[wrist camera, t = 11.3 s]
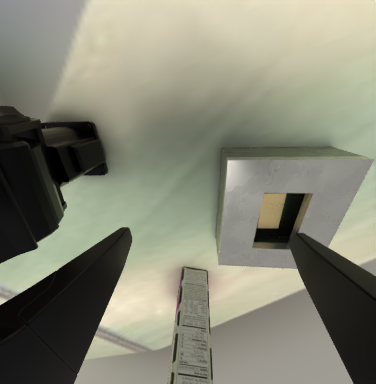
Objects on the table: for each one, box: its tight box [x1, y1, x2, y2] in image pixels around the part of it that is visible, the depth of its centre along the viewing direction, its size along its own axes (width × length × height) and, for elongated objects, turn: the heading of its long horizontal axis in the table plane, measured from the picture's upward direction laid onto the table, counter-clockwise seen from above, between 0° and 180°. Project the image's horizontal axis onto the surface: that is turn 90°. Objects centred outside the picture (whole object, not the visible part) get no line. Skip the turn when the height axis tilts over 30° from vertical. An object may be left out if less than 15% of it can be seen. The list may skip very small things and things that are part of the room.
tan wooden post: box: [257, 193, 287, 228], centre depth 20 cm, size 2×5×3 cm, turn 4°
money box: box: [216, 147, 374, 269], centre depth 19 cm, size 12×14×5 cm
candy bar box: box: [167, 267, 213, 384], centre depth 24 cm, size 11×5×16 cm, turn 173°
